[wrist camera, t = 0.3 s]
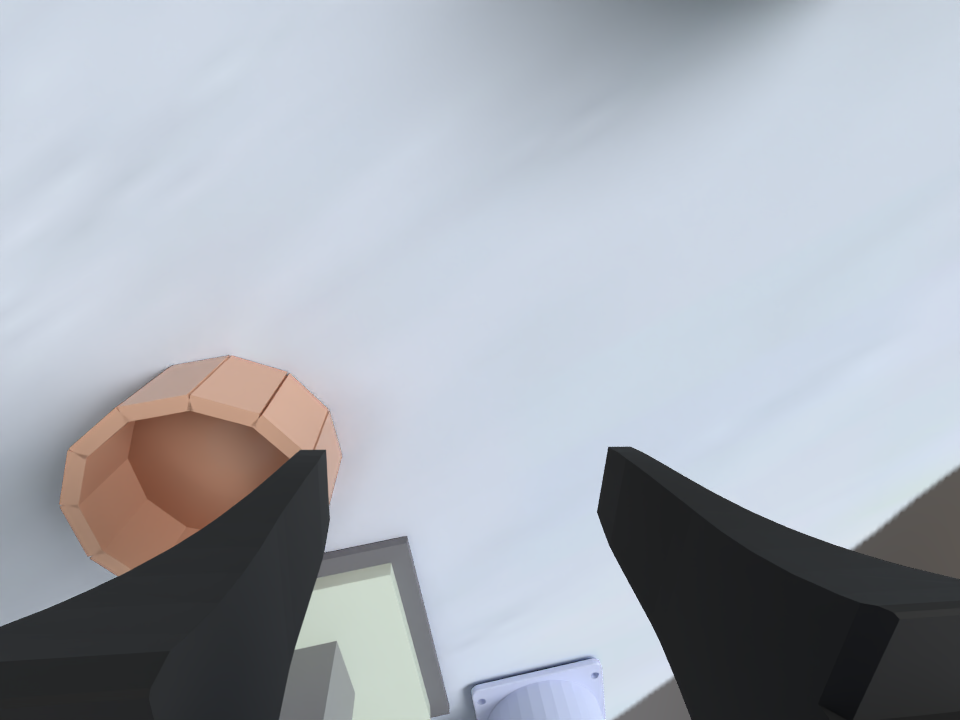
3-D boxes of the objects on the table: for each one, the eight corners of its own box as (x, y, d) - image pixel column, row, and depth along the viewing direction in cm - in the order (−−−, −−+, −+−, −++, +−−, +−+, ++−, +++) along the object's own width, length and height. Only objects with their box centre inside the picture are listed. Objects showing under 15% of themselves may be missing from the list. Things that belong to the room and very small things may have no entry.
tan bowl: (358, 512, 24) (348, 574, 20) (171, 549, 23) (124, 620, 19) (309, 341, 20) (285, 376, 17) (89, 379, 20) (13, 425, 16)
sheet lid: (430, 706, 28) (433, 804, 24) (240, 749, 27) (206, 860, 23) (391, 562, 24) (385, 648, 20) (168, 608, 24) (110, 708, 19)
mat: (449, 704, 29) (449, 713, 29) (231, 755, 28) (228, 764, 28) (407, 536, 24) (406, 543, 24) (144, 589, 24) (139, 598, 23)
